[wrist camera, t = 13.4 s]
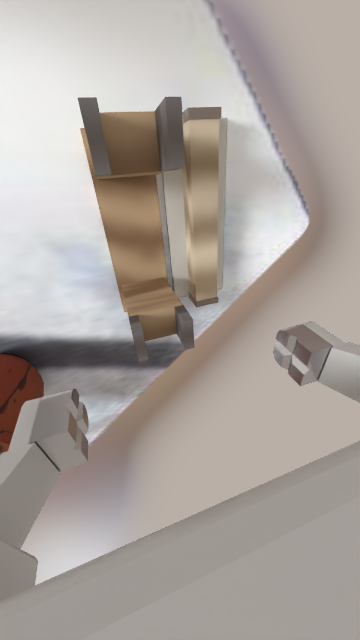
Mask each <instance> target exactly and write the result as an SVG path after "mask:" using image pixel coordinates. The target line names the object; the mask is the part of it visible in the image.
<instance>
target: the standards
mask: <svg viewBox="0 0 360 640" xmlns="http://www.w3.org/2000/svg"><path fill="white" fill-rule="evenodd" d="M78 101H79V105H80V110H81V114H82V118H83V123H84V127H85V128H80V129H81V134H82V138H83V142H84V146H85V150H86V154H87V159H88V163H89V167H90V171H91V175H92V179H93V184H94V188H95V192H96V196H97V200H98V204H99V209H100V213H101V217H102V221H103V225H104V230H105V234H106V238H107V242H108V246H109V250H110V255H111V259H112V263H113V267H114V271H115V275H116V280H117V284H118V288H119V292H120V296H121V300H122V305H123V309H124V312H128V316H129V321H130V325H131V330H132V334H133V339H134V343H135V347H136V352H137V356H138V360H139V362H140V361H144V360H148V354H147V349H146V344H145V341H148V340H152V339H156V338H160V337H165V336H169V335H173V334H177V335H178V336H179V338H180V340H181V342H182V344H183V346H184V348H185V350H187V349H190V348H194V333H193V319H192V317H191V316H190V314H189V313H188V312H187V310H186V309H185V307H184V306H183V304H182V303H181V302H180V300H179V299H178V297H177V296H176V294H175V293H174V291H173V290H172V289H171V287H170V286H169V284H168V282H167V273H166V264H165V255H164V246H163V237H162V228H161V219H160V210H159V202H158V193H157V184H156V175H155V174H159V173H164V172H169V171H173V170H178V169H183V168H185V160H184V141H183V121H182V102H181V97H165V98H164V100H163V101H162V102H161V104H160V105H159V106H158V108H157V109H156V110H155V111H154V112H108V113H99V108H98V103H97V98H78Z"/></svg>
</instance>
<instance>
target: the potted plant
mask: <svg viewBox="0 0 360 640" xmlns="http://www.w3.org/2000/svg"><path fill="white" fill-rule="evenodd" d="M41 397H44V383H43V380H42V377H41V376H40V374H39V373H38V371H37V370H36V369H35V367H34V366H33V365H32V364H31V363H29V362H28V361H26V360H24V359H22V358H20V357H17V356H13V355H7V354H0V455H1V454H2V453H3V452H6V451H8V450H9V446H10V443H11V440H12V437H13V434H14V430H15V427H16V424H17V421H18V418H19V414H20V411H21V408H22V406H23V404H24V403H25V402H26V401H29V400H33V399H37V398H41Z"/></svg>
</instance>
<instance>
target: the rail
mask: <svg viewBox="0 0 360 640" xmlns="http://www.w3.org/2000/svg"><path fill="white" fill-rule="evenodd" d="M220 118H221V107H200V108H188V109H186V110H185V111H184V112H183V113H182V121H183V141H184V160H185V168H183V169H182V177H183V194H184V211H185V229H186V246H187V263H188V280H189V298H190V300H191V301H192V302H193V303H194V305H195V306H196V307H200V306H204V305H209V304H213V303H218V297H217V245H218V173H219V119H220Z"/></svg>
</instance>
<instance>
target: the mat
mask: <svg viewBox="0 0 360 640" xmlns="http://www.w3.org/2000/svg"><path fill="white" fill-rule="evenodd" d="M226 144H227V118H220V119H219V173H218V245H217V289H222V284H223V249H224V214H225V179H226ZM162 176H163V186H164V196H165V207H166V217H167V227H168V237H169V248H170V258H171V268H172V278H173V288H174V293H175V294H176V296H177V297H183V296H188V295H189V280H188V263H187V246H186V229H185V211H184V194H183V177H182V169H178V170H173V171H169V172H164V173H162Z"/></svg>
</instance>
